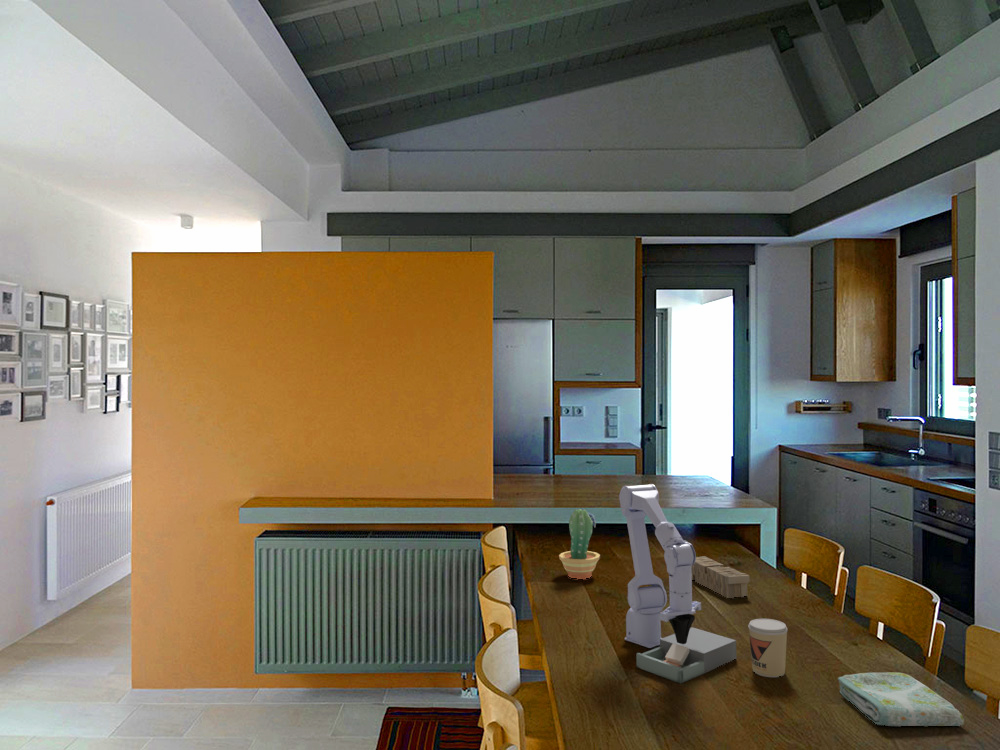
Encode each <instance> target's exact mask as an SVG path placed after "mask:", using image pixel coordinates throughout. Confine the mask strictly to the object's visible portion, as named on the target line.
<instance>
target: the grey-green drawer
mask: <svg viewBox="0 0 1000 750" xmlns="http://www.w3.org/2000/svg"><path fill="white" fill-rule="evenodd" d="M635 655H636V657H635V658H636V668H638V669H641V670H643V671H646V672H649V673H652V674H654V675H657V676H659V677H662V678H665V679H668V680H670V681H672V682H675V683H679V684H682V683H683V684H684V683H685V682H688V681H690V680H692V679H695V678H698V677H699V676H701V675H704V674H705V673H704V661H701V660H700V661H698V662H696V663H693V664H691V665H688V666H686V665H681V667H678V666H675V665H672V664H670V663H667V662H664V661H665V660H666V658H663V648H662V647H660V646H658V647H654V648H652V649H651V650H650V649H649V650H648V651H644V652H643V653H641V652H636V654H635Z"/></svg>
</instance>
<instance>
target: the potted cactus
mask: <svg viewBox="0 0 1000 750" xmlns="http://www.w3.org/2000/svg"><path fill="white" fill-rule="evenodd" d="M596 525H597V518H596V517H595V515H594V514H593V513H592V512H590V511H587V510H586V509H583V510H582V509H581V508H579V509H575V510H574V511H573V512H572V514H571V515H570V517H569V519H568V526H569V527H568V528H569V529H568V530H569V534H570V539H571V540H570V550H569V551H564V552H561V553H560V554H558V558H559V560H560V561H561V562H562V566H563V568H564V570H565V571H566V573H568V574H567V577H568V576H569V577H571V578H577V579H576V580H578V579H583V580H587V579H586V578H589V579H591V578H592V577H593V575H592V573H593V572H594V570H595V568H596V567H597V563H598V562H599V560H600V559H601V554H600V553H598V552H595V551H589V550H588V548H589V544H590V540H591V537H592V534H593V527H594V528H596ZM591 576H592V577H591ZM569 577H568V578H569ZM590 577H591V578H590ZM571 578H570V579H571Z"/></svg>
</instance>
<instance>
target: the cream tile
mask: <svg viewBox="0 0 1000 750" xmlns="http://www.w3.org/2000/svg"><path fill="white" fill-rule="evenodd" d="M689 652H690V651H689V648H688V647H684V646H681V645H677V644H672V646H671V647H670V649H669V651H668V652H667V654H666V656H665V658H666V660H667V661H669V662H673V663H676V664H680V665H683V663H684V661H685V659H686V658H687V656H688V654H689Z"/></svg>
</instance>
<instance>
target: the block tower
mask: <svg viewBox="0 0 1000 750" xmlns="http://www.w3.org/2000/svg"><path fill="white" fill-rule="evenodd" d="M691 569H692V580H695V581H694V582H695V583H696V582H697V583H696V584H698V583H699V584H698V585H700V584H701V585H700V586H702V585H703V586H705V587H707V588H709V589H711V590H713V591H715V592H717V593H719V594H721V595H723V596H725V597H727V598H732V599H735V598H734V597H741V598H745V597H744V596H747V597H748V584H749V583H750V575H749V574H747V573H744V572H741V571H739V570H737V569H735V568H731V567H730V566H724V564H722V563H720V562H718V561H715V560H714V559H712V558H709V557H707V556H705V555H704V556H699V557H698V556H696V561H695V564H694V565H691ZM703 586H702V587H703ZM705 587H704V588H705ZM707 588H706V589H707ZM709 589H708V590H709ZM711 590H710V591H711ZM713 591H712V592H713ZM715 592H714V593H715ZM717 593H716V594H717ZM719 594H718V595H719ZM721 595H720V596H721ZM723 596H722V597H723ZM725 597H724V598H725ZM727 598H726V599H727Z"/></svg>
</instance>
